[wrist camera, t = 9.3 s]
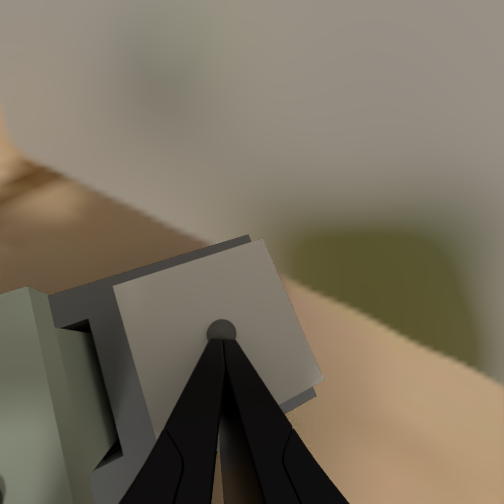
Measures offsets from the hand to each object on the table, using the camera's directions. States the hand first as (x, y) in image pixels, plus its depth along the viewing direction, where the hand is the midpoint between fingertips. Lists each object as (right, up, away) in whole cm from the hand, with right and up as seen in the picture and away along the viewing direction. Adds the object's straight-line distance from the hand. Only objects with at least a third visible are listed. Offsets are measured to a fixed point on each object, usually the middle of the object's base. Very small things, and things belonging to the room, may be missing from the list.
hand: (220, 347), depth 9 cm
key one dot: (-2, -2, +7) cm, 7 cm away
